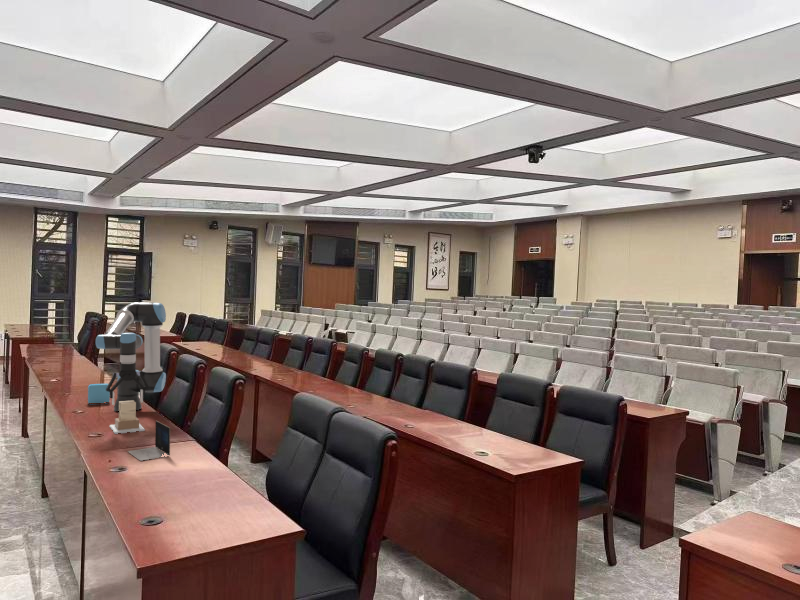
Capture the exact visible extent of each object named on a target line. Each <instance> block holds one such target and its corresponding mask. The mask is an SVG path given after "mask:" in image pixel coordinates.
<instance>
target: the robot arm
mask: <svg viewBox="0 0 800 600" xmlns="http://www.w3.org/2000/svg"><path fill="white" fill-rule="evenodd" d="M166 319H167V313H166V309H165V306H164V304H163V303H161V302H136V301H135V302H131V303H129V304H127V305H125V306H123V307H121V308H120V309H119V310H118V311H117V313H116V316H115V319H114V320H113V322H112V323H111V325H110V326H109V328H108V329H107V330H106V332H105V333H104V334H98V335H97V336H96V338H95V347H96V348H97V349H98V350H99V349H101V350H119V362H120V364H119V372H113V373H112V377H111V379H110V381H109V382H108V383H107V384H108V386H107V388H106V391H108V392H110V399H111V405H112V406H113V412H116V411H119V401H131V400H134V401H135V402H136V410H138V411H140V410H139V409H141V408H142V407H143V405H142V403H143V402H144V397H146V396H145V395H146V393H160V392H163V390H164V388H165V385H166V380H167V373H166V372H164V371H163V368H162V367H161V328H162V326H163V325H164V324H163V323H165V322H166ZM132 323H141V326H142V327H143V330H144V341H143V338H142V336H141V335H139V334H136V333H134V332H125V331H126V329H127V328H128V327H129V325H131V324H132ZM143 343H144V368H143V369H142V370H138V369H137V366H136V365H137V363H136V362H137V349H140V347H142V345H143ZM116 378H117V380H116ZM115 380H116V382H115ZM114 382H115V383H114ZM116 389H117V392H116V393H117V394H116V395H117V396H116V397H117V398H116V400H115V390H116ZM139 393H140V394H139ZM139 395H140V396H139ZM142 409H143V408H142ZM142 409H141V410H142Z"/></svg>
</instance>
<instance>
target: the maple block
mask: <svg viewBox="0 0 800 600" xmlns="http://www.w3.org/2000/svg"><path fill="white" fill-rule="evenodd" d="M136 417H137V411H136V402H135V401H134V400H131V401H119V412H118V418H119V420H120V421H129V420H136Z"/></svg>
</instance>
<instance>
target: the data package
mask: <svg viewBox="0 0 800 600" xmlns="http://www.w3.org/2000/svg"><path fill="white" fill-rule="evenodd" d="M108 384H109V383H93V384H92V383H91V384H89V385H88V386H87V403H88V404H89V403H104V402H109V403H110V400H111V398H110V392H108V391H106V388H107V386H108Z"/></svg>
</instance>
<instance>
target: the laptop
mask: <svg viewBox="0 0 800 600" xmlns="http://www.w3.org/2000/svg"><path fill="white" fill-rule="evenodd" d="M154 443H155V444H154V445H155V446H152V447H146V448H140V449H133V450H127V453H128V454H130V455H132V456H133V457H135V458H136V459H137V460H139V461H140V462H144V461H143V460H145V461H150V460H149V459H152V460H156V459H155V458H159V457H161V456H162V454H163V455H164V453H166V454H167V455H169V456H171V427H170V426H168V425H166V424H164V423H162V422H160V421H158V420H155V442H154ZM164 457H165V456H164ZM165 458H166V457H165ZM159 459H160V458H159Z"/></svg>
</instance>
